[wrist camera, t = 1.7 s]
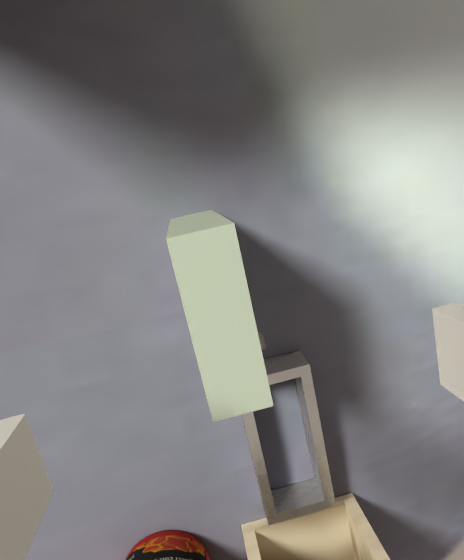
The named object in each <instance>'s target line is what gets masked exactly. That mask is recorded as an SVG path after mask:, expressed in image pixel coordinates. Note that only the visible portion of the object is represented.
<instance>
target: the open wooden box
mask: <svg viewBox="0 0 464 560" xmlns="http://www.w3.org/2000/svg"><path fill="white" fill-rule="evenodd" d="M335 503H336V506H334V507H331V508H327V509H324V510H320V511H317V512H313V513H310V514H307V515H303V516H300V517H296V518H293V519H289V520H286V521H282V522H279V523H276V524H272V525H268V521H267V518H263V519H260V520H256V521H253V522H249V523H246V524H242V525H241V527H242V532H243V537H244V542H245V548H246V553H247V558H248V560H390V559H389V557H388V555H387V553H386V552H385V550H384V548H383V546H382V545H381V543H380V541H379V539H378V538H377V536H376V534H375V532H374V531H373V529H372V527H371V525H370V524H369V522H368V520H367V518H366V517H365V515H364V513H363V511H362V510H361V508H360V506H359V504H358V503H357V501H356V499H355V498H354V496H353V494H352V493H349V494H346V495H343V496H339V497H336V498H335Z"/></svg>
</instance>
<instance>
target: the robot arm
mask: <svg viewBox="0 0 464 560" xmlns="http://www.w3.org/2000/svg"><path fill="white" fill-rule="evenodd" d="M432 311H433V321H434V330H435V339H436V348H437V357H438V366H439V375H440V384H441V385H442V386H443V387H445V388H446V389H448V390H449V391H450V392H452V393H453V394H454V395H456V396H457V397H459V398H460V399H461V400H463V401H464V307H463V306H460V305H458V304H455V303H452V304H448V305H444V306H440V307H436V308H433V309H432ZM53 491H54V489H53V486H52V483H51V481H50V478H49V475H48V473H47V470H46V467H45V465H44V462H43V459H42V457H41V454H40V451H39V449H38V446H37V443H36V440H35V438H34V435H33V432H32V430H31V427H30V424H29V422H28V419H27V416H26V414H21V415H18V416H14V417H10V418H6V419H2V420H0V560H25V558H26V555H27V553H28V551H29V548H30V546H31V543H32V541H33V539H34V536H35V534H36V531H37V529H38V527H39V524H40V522H41V520H42V517H43V515H44V512H45V510H46V508H47V505H48V503H49V500H50V498H51V496H52V493H53Z"/></svg>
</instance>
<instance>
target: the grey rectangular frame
mask: <svg viewBox="0 0 464 560" xmlns="http://www.w3.org/2000/svg"><path fill="white" fill-rule="evenodd" d="M264 364H265V369H266V373H267V378H268V383H269V385H272V384H275V383H279V382H283V381H287V380H290V379H294V378H295V382H296V388H297V393H298V398H299V403H300V408H301V413H302V418H303V423H304V428H305V433H306V438H307V443H308V448H309V454H310V459H311V464H312V469H313V474H314V479H310V480H306V481H303V482H299V483H296V484H292V485H289V486H285V487H282V488H278V489H275V490H271V488H270V484H269V480H268V475H267V471H266V467H265V462H264V458H263V453H262V449H261V445H260V440H259V436H258V432H257V427H256V423H255V418H254V414H253V412H249V413H246V414H242V419H243V423H244V427H245V431H246V436H247V440H248V444H249V448H250V452H251V457H252V461H253V465H254V469H255V474H256V478H257V482H258V486H259V491H260V495H261V499H262V503H263V507H264V510H265V514H266V518H267V521H268V525H272V524H276V523H279V522H282V521H286V520H289V519H293V518H296V517H300V516H303V515H307V514H310V513H313V512H317V511H320V510H324V509H327V508H331V507H334V506H336V503H335V498H334V493H333V487H332V482H331V476H330V471H329V466H328V460H327V455H326V449H325V444H324V439H323V433H322V428H321V423H320V417H319V412H318V406H317V401H316V396H315V390H314V385H313V379H312V374H311V369H310V364H309V363H308V361H307V360H306V359H305V357H304V356H303V355H302V353H301V352H300V351H296V352H292V353H288V354H284V355H280V356H277V357H273V358H269V359H265V360H264Z"/></svg>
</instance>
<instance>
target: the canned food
mask: <svg viewBox="0 0 464 560" xmlns="http://www.w3.org/2000/svg"><path fill="white" fill-rule="evenodd" d="M126 560H210V558H209V556H208V553H207V551H206V549H205V547H204V546H203V544H202V543H201V542H200V541H199V540H198V539H197V538H196V537H194V536H192V535H190V534H188V533H186V532H182V531H175V530H168V531H161V532H157V533H154V534H151V535H149V536H147V537H145V538H144V539H142V540H141V541H139V542H138V543H137V544H136V545H135V546H134V547H133V548H132V550H131V551H130V553H129V554H128V556H127V558H126Z"/></svg>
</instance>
